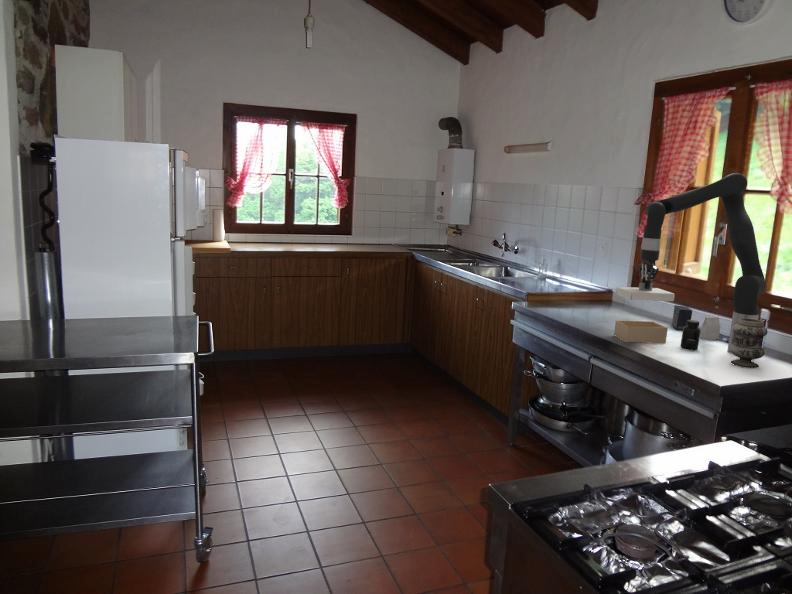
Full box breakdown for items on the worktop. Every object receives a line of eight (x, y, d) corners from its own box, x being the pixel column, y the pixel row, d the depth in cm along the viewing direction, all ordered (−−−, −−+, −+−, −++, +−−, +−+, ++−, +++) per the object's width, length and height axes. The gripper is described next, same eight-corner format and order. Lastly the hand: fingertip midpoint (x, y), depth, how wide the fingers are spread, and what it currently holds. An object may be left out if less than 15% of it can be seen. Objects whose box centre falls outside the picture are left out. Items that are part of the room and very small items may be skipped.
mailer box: (665, 343, 273) (667, 327, 272) (626, 342, 270) (628, 326, 269) (651, 336, 284) (653, 321, 283) (613, 335, 282) (615, 320, 281)
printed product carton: (718, 340, 285) (721, 318, 283) (705, 339, 284) (708, 318, 282) (712, 337, 288) (716, 316, 287) (700, 337, 287) (703, 316, 285)
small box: (690, 331, 300) (693, 310, 298) (675, 330, 301) (678, 308, 299) (684, 326, 310) (687, 306, 308) (670, 325, 311) (673, 304, 309)
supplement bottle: (687, 350, 262) (691, 322, 259) (676, 346, 268) (680, 319, 266) (701, 350, 263) (705, 322, 261) (690, 346, 270) (693, 319, 268)
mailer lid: (673, 301, 269) (675, 286, 268) (630, 299, 266) (632, 285, 265) (657, 295, 282) (658, 281, 281) (615, 294, 280) (617, 280, 278)
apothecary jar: (750, 361, 251) (757, 317, 247) (769, 370, 239) (776, 324, 236) (720, 359, 250) (727, 315, 247) (738, 368, 238) (745, 322, 235)
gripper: (667, 250, 264) (662, 291, 267) (650, 247, 278) (645, 285, 281) (650, 250, 263) (645, 290, 266) (634, 246, 277) (629, 285, 280)
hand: (645, 288), depth 273 cm, fingers closed on mailer lid
